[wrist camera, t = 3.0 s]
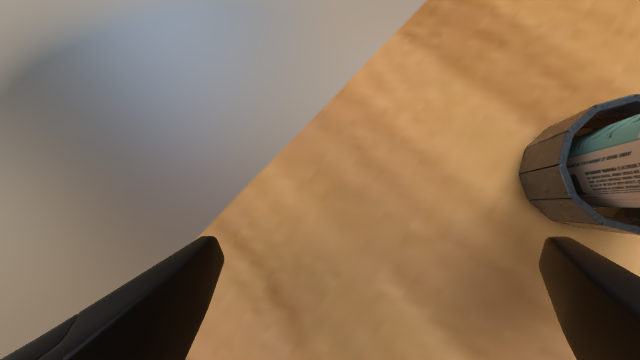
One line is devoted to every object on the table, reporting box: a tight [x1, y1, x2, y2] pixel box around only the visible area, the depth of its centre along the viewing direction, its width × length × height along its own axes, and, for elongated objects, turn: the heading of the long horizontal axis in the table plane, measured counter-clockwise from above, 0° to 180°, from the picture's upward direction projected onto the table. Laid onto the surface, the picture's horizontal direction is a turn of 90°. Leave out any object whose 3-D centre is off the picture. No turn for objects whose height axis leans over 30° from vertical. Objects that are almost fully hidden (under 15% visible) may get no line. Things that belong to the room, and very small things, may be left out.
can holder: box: [519, 94, 640, 235], centre depth 17 cm, size 7×7×5 cm
